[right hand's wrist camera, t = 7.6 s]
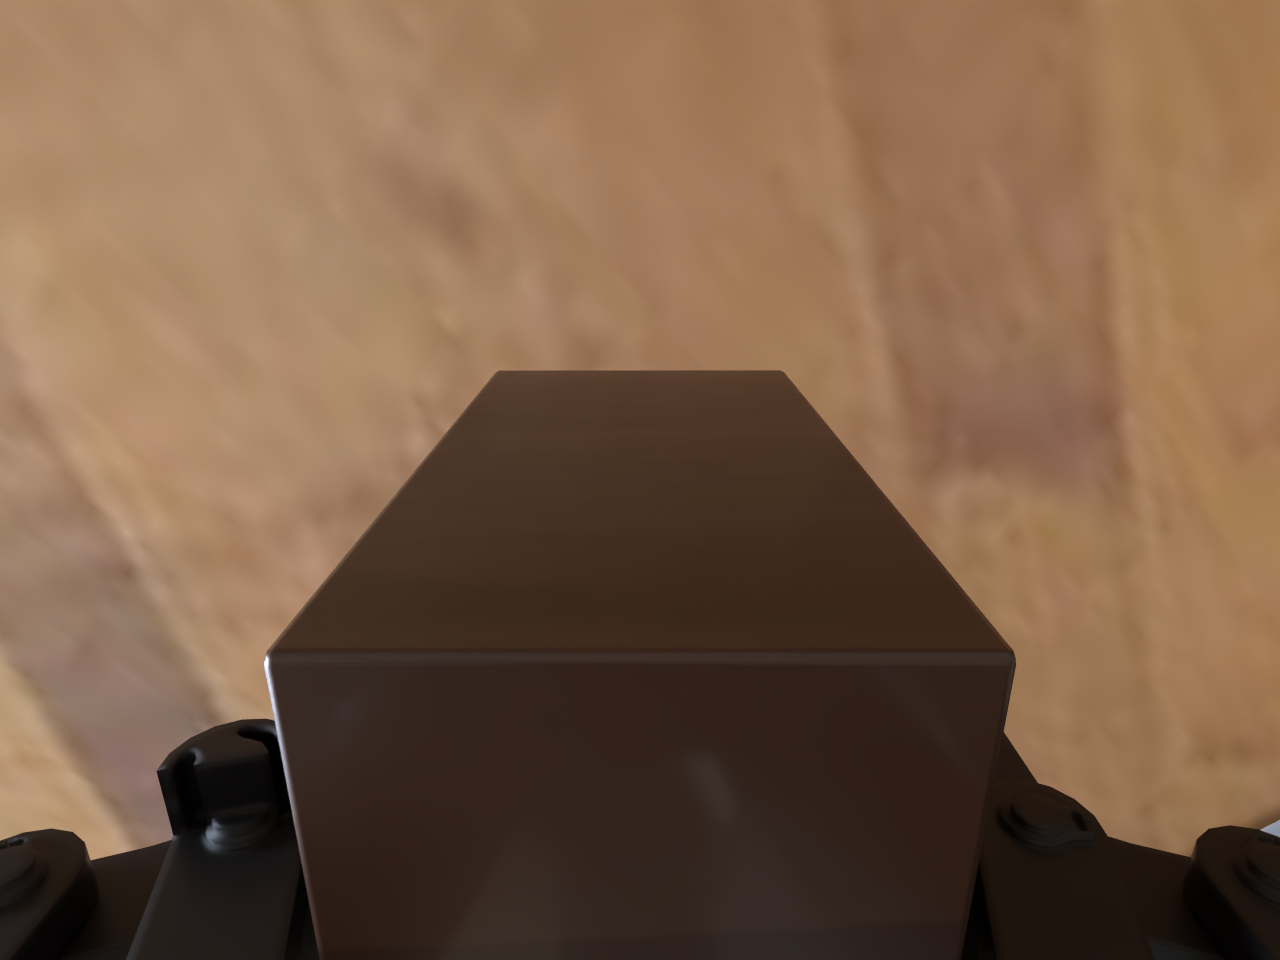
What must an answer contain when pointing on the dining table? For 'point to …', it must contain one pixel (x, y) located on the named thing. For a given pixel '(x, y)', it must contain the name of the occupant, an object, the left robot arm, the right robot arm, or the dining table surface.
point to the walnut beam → (640, 693)
